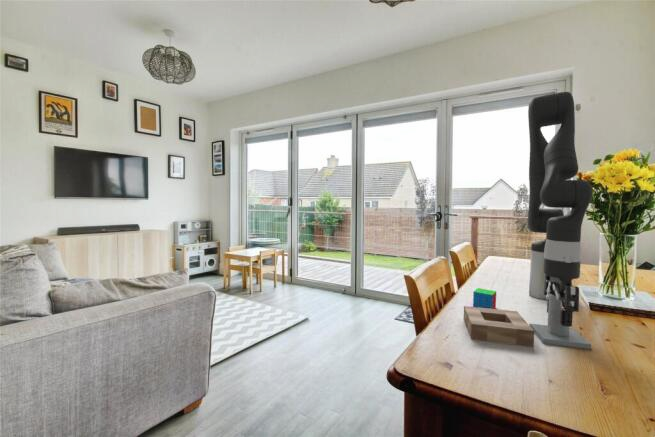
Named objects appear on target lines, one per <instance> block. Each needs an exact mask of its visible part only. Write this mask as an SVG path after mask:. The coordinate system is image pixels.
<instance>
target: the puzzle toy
mask: <svg viewBox="0 0 655 437" xmlns="http://www.w3.org/2000/svg"><path fill="white" fill-rule="evenodd" d="M472 307H478V308H488V309H496V307H497V290H491V289H486V288H480V287H478V288H476V289H475V290H474V291H473V298H472Z"/></svg>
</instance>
